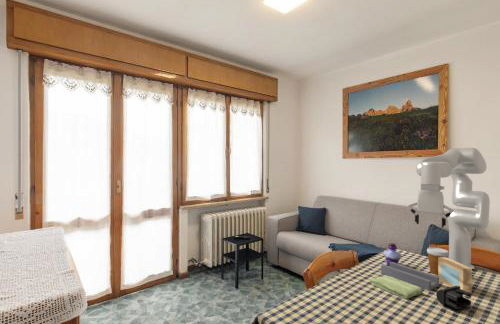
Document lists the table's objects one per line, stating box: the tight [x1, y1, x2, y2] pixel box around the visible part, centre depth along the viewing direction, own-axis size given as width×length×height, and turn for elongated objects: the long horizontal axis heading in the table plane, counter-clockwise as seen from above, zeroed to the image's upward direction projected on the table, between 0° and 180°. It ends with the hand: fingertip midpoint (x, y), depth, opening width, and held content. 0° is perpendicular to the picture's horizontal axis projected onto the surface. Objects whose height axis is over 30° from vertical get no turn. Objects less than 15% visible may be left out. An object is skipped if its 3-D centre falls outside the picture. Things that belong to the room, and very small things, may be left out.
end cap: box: [435, 286, 472, 313], centre depth 104 cm, size 10×7×7 cm
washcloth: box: [369, 275, 424, 300], centre depth 118 cm, size 13×18×3 cm
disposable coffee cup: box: [426, 246, 449, 276], centre depth 136 cm, size 10×10×12 cm
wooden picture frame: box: [437, 257, 473, 295], centre depth 121 cm, size 4×14×11 cm, turn 3°
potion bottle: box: [383, 242, 402, 267], centre depth 146 cm, size 9×9×12 cm
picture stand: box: [380, 262, 440, 292], centre depth 128 cm, size 10×22×4 cm, turn 33°
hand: (429, 225), depth 122 cm, fingers open, 9 cm apart
